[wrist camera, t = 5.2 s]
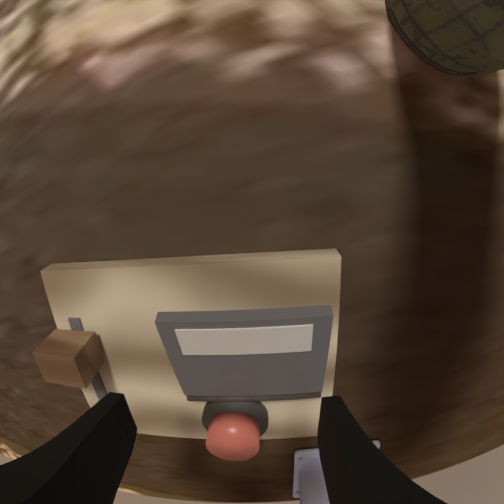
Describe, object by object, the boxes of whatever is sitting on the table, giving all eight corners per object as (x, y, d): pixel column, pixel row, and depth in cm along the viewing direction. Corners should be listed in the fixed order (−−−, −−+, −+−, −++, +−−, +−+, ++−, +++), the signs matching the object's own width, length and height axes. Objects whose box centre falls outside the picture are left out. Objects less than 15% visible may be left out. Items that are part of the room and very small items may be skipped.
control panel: (325, 421, 24) (329, 443, 21) (105, 416, 25) (96, 434, 22) (335, 248, 19) (345, 262, 17) (51, 263, 20) (32, 276, 18)
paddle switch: (320, 381, 20) (322, 392, 19) (186, 385, 20) (184, 396, 20) (330, 304, 16) (333, 316, 15) (158, 311, 17) (154, 323, 16)
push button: (261, 442, 21) (260, 460, 19) (212, 442, 21) (210, 460, 19) (258, 411, 20) (257, 430, 18) (205, 411, 20) (201, 429, 18)
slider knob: (104, 360, 20) (86, 388, 17) (65, 356, 20) (45, 381, 17) (95, 331, 19) (73, 358, 16) (55, 328, 20) (32, 352, 17)
